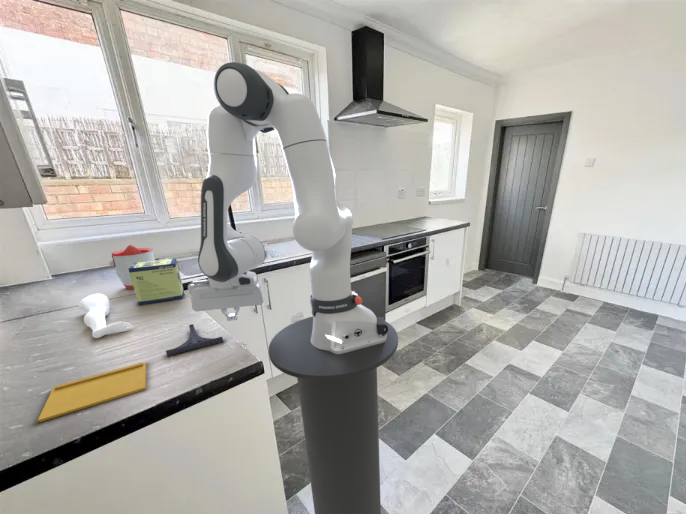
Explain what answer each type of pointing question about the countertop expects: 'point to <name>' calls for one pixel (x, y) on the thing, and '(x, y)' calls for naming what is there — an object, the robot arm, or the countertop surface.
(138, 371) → the tray
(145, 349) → the countertop surface
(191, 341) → the bracket
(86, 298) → the leg
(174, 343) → the countertop surface
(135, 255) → the citrus juicer
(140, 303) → the protein box
